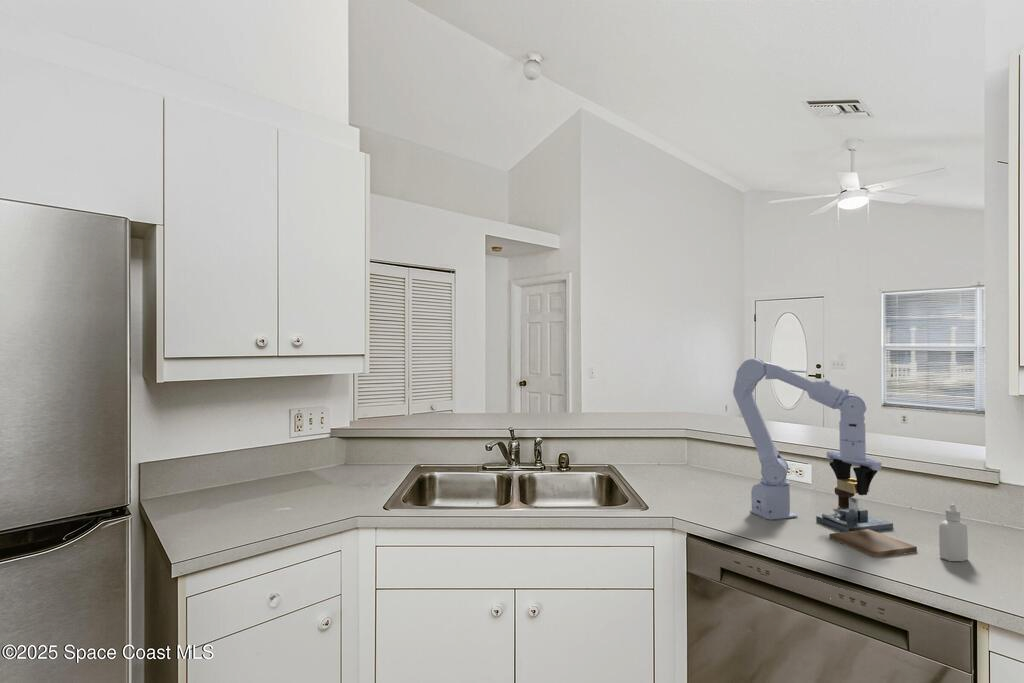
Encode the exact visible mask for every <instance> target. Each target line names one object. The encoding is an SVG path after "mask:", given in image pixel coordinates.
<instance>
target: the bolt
mask: <svg viewBox="0 0 1024 683" xmlns="http://www.w3.org/2000/svg"><path fill="white" fill-rule="evenodd" d="M831 460H832V461H834V460H833V459H831ZM851 469H852V468H851ZM851 469H850V473H849V478H852V477H851ZM834 494H835V495H836V496H838V501H837V502H838V503H837V504H838V505H837V506H838V507H840V508H841V509H849V498H854V497H855V494H856V493H855V494H853V493H850V492H847V491H844V490H840V489H837V486H836V487H834Z"/></svg>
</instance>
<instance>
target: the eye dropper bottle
mask: <svg viewBox="0 0 1024 683" xmlns="http://www.w3.org/2000/svg"><path fill="white" fill-rule="evenodd" d="M938 529H939V530H938V532H939V533H938V534H939V537H938V539H939V544H938V546H939V558H940V559H943V560H944V561H947V560H948V562H951V561H961V562H965V561H967V560H968V559H969V541H968V539H969V538H968V526H967V524H966V523H965V522H962V521H961V511H960V510H958V509H957V508H956V504H954V503H950V506H949V508H946V509H945V519H944V520H943V521H941V522H940V523H939V527H938Z"/></svg>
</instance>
